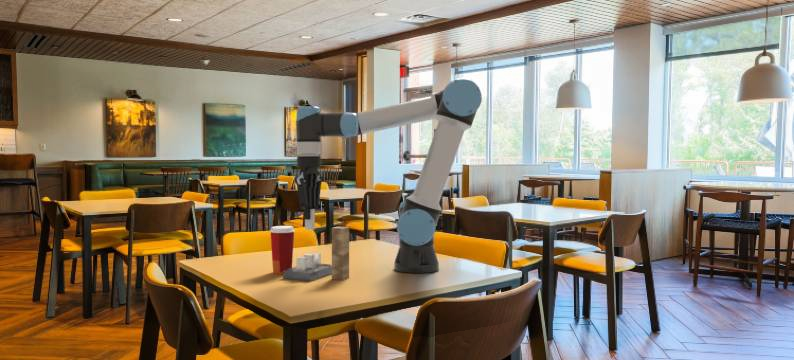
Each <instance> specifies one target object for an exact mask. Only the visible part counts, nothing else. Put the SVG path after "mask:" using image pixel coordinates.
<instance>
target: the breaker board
mask: <svg viewBox="0 0 794 360" xmlns="http://www.w3.org/2000/svg"><path fill="white" fill-rule="evenodd" d="M310 254H313V255H314V267H313V268H308V267H307V257H304V256H298V257H296V266H292V268H290V269H287V270H283V274H282V275H283V277H282V278H283V279H285V280H295V281H302V282H303V281H305V282H312V281H315V280H319V279H321V278H324V277H327V276H329V275H332V263H331V264H330V263H322V253H316V252H312V253H310Z"/></svg>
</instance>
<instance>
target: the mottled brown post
mask: <svg viewBox="0 0 794 360" xmlns="http://www.w3.org/2000/svg"><path fill="white" fill-rule="evenodd" d="M331 265H332V274H331V279H332V280H339V281H345V280H347V279H349V278H350V227H349V226H335V227H331Z"/></svg>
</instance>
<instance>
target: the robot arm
mask: <svg viewBox="0 0 794 360" xmlns="http://www.w3.org/2000/svg"><path fill="white" fill-rule="evenodd" d="M482 96H483V95H482V91H481V89H480V87H479V86H478V84H477V83H476V82H474V81H473V80H472V79H469V78H464V77H461V78H455V79H454V80H453V79H452V80H451V81H449V82H448V83H447V85H446V86H445V87H444V88H443V90H439V91H437V92H432V93H431V95H430V96H427V97H424V98H419V99H418V98H417V99H413V100H408V101H405V102H401V103H396V104H395V103H394V104H391V105H387V106H382V107H381V106H380V107H378V108H373V109H369V110H364V111H359V112H348V111H347V112H321V109H320V107H318V106H311V105H310V106H307V105H306V106H299V107H298V108H297V109H296V120H295V123H296V125H295V126H296V127H295V128H296V154H297V155H298V156H297V157H296V168H298V169H300V170H299V176H298V177H295V178H294V182H295V184H296V189H297V196H298V203H299V208H300V209H301V210H304V230H306V231H308V230H309V231H314V230H315V229H316V226H315V224H316V223H315V220H316V210H318V208H319V205H320V198H321V190H322V182H323V180H324V178H323V176H320V175H319V169H320V168H321V167H322V163H321V162H322V158H321V156H320V155H321V154H322V149H321V148H322V147H321V145H322V144H321V137H323V138H325V137H327V138H328V137H331V138H332V137H336V138H337V137H338V138H342V139H352V138H353V137H357V136H361V135H365V134H369V133H374V132H380V131H385V130H388V129H389V130H390V129H395V128H397V127H402V126H408V125H412V124H416V123H417V124H418V123H421V122H426V121H429V120H430V121H431V120H436V121H437V125H436V128H435V131H434V134H433V137H432V140H431V143H430V145H429V147H428V148H429V149H428V150H427V151H428V152H427V154H426V158H425V159H424V162H423V164H422V165H423V166H422V168H421V171H420V173H419V177H418V179H417V182H416V185H415V188H414V191H413V193H412V194H411V195H409V196H407V197H406V199H405V201H402V202H401V203H400V205H399V209H398V212H399V218H398V220H397V222H396V223H397V224H396V231H397V234H398V236H399V247H398V250H397V252H396V257H395V259H394V262H393V263H394V268H393V269H394V270H395V271H398V272H401V273H409V274H425V273H433V272H438V271H439V269H440V267H439V266H440V265H439V264H440V263H439V260H438V256H437V253H436V250H435V245H434V244H435V242H434V240H435V233H436V228H437V227H436V226H437V224H438V222H439V218H440V215H441V213H442V210H443V209H442V206H441V205H440V202H441V198H442V196H443V192H444V189H445V187H446V184H447V181H448V178H449V175H450V173H451V170H452V167H453V164H454V162H455V158H456V156H457V153H458V150H459V148H460V144H461V142H462V140H463V137H464V133H465V131H467V130H469V129H470V128H471V127H473V126H472V125H473V122H474V120H475V117H476V115H477V111H478V110H479V108H480V106H481V104H482V98H483V97H482Z"/></svg>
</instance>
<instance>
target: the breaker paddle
mask: <svg viewBox="0 0 794 360" xmlns="http://www.w3.org/2000/svg"><path fill="white" fill-rule="evenodd" d="M303 257H307V267H308V268H313V267H314V255H313V254H311V253H304V254H303Z"/></svg>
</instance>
